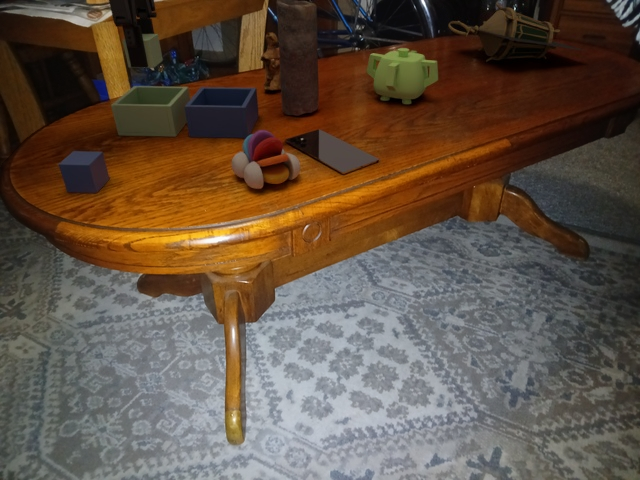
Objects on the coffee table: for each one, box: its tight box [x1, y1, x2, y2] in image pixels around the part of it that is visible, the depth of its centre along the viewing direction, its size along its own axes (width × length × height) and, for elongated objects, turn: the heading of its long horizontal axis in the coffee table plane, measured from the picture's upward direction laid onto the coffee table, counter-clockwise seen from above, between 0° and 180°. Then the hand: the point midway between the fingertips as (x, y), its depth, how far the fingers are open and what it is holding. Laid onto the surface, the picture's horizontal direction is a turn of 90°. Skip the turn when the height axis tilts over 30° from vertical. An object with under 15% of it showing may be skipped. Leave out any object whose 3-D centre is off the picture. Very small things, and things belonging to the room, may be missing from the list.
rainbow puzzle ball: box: [230, 129, 301, 190], centre depth 76 cm, size 8×10×7 cm
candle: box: [275, 0, 320, 117], centre depth 96 cm, size 8×7×20 cm
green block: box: [122, 33, 164, 69], centre depth 87 cm, size 4×4×4 cm
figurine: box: [259, 32, 281, 92], centre depth 108 cm, size 5×6×12 cm
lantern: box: [448, 2, 587, 63], centre depth 127 cm, size 14×23×30 cm
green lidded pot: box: [366, 47, 439, 105], centre depth 105 cm, size 12×12×10 cm
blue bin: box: [184, 86, 260, 139], centre depth 93 cm, size 11×11×6 cm
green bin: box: [110, 85, 191, 138], centre depth 94 cm, size 11×11×6 cm
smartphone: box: [284, 129, 380, 175], centre depth 85 cm, size 8×1×16 cm
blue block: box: [58, 150, 111, 194], centre depth 75 cm, size 4×4×4 cm
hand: (145, 62), depth 89 cm, fingers closed on green block, 4 cm apart
